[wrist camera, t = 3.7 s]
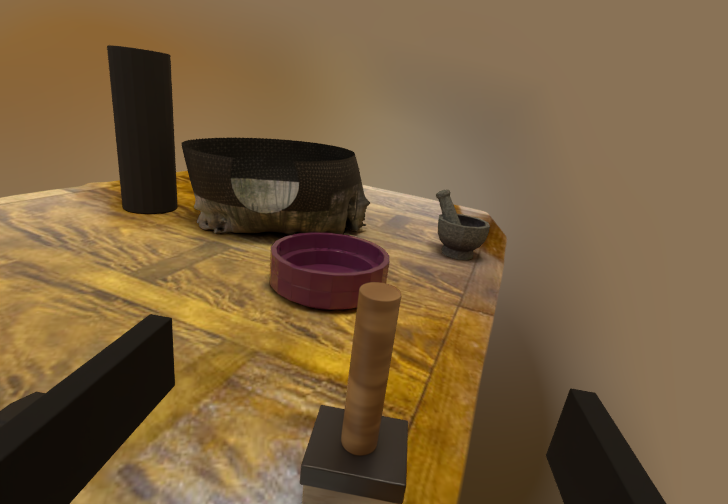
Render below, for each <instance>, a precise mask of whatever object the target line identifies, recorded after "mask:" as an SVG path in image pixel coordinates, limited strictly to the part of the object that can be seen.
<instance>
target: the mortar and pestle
mask: <svg viewBox="0 0 728 504" xmlns="http://www.w3.org/2000/svg"><path fill="white" fill-rule="evenodd" d="M436 197H437V198H438V199H439V202H440V206H441V210H442V215H439V220H438V235H439V238H440V240H441V242H442V243H443V244H444V245H443V247H442V253H443V254H444V255H446V256H447V257H451V258H454V259H460V260H469V259H472V258H473V250H475V249H476V248H478V247H480V246H481V245H482V244H483V243H484V241H485V240H486V237H487V235H488V232H489V228H490V226H489V224H488V222H486V221H483V220H481V219H479V218H475V217H471V216H467V215H461V214H457V213H456V210H455V208H454V205H453V203H452V200H451V198H450V191H449V190H443V191H440V192H438V193H437V194H436Z"/></svg>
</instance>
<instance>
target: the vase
mask: <svg viewBox="0 0 728 504" xmlns="http://www.w3.org/2000/svg"><path fill="white" fill-rule="evenodd" d="M107 50H108V60H109V70H110V81H111V91H112V102H113V111H114V123H115V133H116V143H117V152H118V153H117V154H118V164H119V175H120V185H121V195H122V206H123V209H125V210H126V211H129V212H133V213H141V214H157V213H166V212H170V211H173V210H175V209H176V208H177V186H176V168H175V167H176V166H175V146H174V124H173V103H172V83H171V61H170V55H169V54H165V53H160V52H154V51H149V50H143V49H136V48H128V47H121V46H107Z"/></svg>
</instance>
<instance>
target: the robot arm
mask: <svg viewBox="0 0 728 504" xmlns="http://www.w3.org/2000/svg"><path fill="white" fill-rule="evenodd" d="M174 386H175V375H174V354H173V333H172V318H169V317H163V316H157V315H152V314H150V315H149V316H147V317H146V318H145V319H143V320H142V321H141V322H139V323H138V324H137V325H135V326H134V327H133V328H131V329H130V330H129V331H127V332H126V333H125V334H123V335H122V336H121V337H120V338H118V339H117V340H116V341H114V342H113V343H112V344H110V345H109V346H108V347H106V348H105V349H104V350H102V351H101V352H100V353H98V354H97V355H96V356H94V357H93V358H92V359H90V360H89V361H88V362H86V363H85V364H84V365H82V366H81V367H80V368H78V369H77V370H76V371H74V372H73V373H72V374H70V375H69V376H68V377H67V378H65V379H64V380H63V381H61V382H60V383H59V384H57V385H56V386H55V387H53V388H52V389H51V390H49V391H48V392H47V393H40V392H35V393H33V394H30V395H28V396H26V397H24V398H22V399H19V400H17V401H15V402H13V403H11V404H9V405H8V406H7V407H5V408H4V409H2V410H1V411H0V504H70V503H71V501H72V500H73V499H74V498H75V497H76V496H77V495H78V494H79V492H80V491H81V490H82V489H83V488H84V487H85V486H86V485H87V483H88V482H89V481H90V480H91V479H92V478H93V477H94V476H95V474H96V473H97V472H98V471H99V470H100V469H101V468H102V467H103V465H104V464H105V463H106V462H107V461H108V460H109V459H110V458H111V456H112V455H113V454H114V453H115V452H116V451H117V450H118V449H119V447H120V446H121V445H122V444H123V443H124V442H125V441H126V440H127V438H128V437H129V436H130V435H131V434H132V433H133V432H134V431H135V429H136V428H137V427H138V426H139V425H140V424H141V423H142V422H143V420H144V419H145V418H146V417H147V416H148V415H149V414H150V413H151V411H152V410H153V409H154V408H155V407H156V406H157V405H158V404H159V402H160V401H161V400H162V399H163V398H164V397H165V396H166V395H167V393H168V392H169V391H170V390H171V389H172V388H173V387H174ZM546 456H547V460H548V462H549V465H550V467H551V470H552V473H553V475H554V478H555V481H556V483H557V486H558V489H559V491H560V494H561V497H562V499H563V502H564V504H666V503H665V501H664V499H663V498H662V496H661V495H660V493H659V492H658V490H657V488H656V487H655V485H654V484H653V482H652V481H651V479H650V478H649V476H648V474H647V473H646V471H645V470H644V468H643V467H642V465H641V463H640V462H639V460H638V459H637V458H636V456H635V454H634V452H633V451H632V450H631V448H630V446H629V445H628V443H627V442H626V440H625V438H624V437H623V435H622V434H621V432H620V431H619V429H618V427H617V426H616V424H615V423H614V421H613V420H612V418H611V416H610V415H609V413H608V412H607V410H606V409H605V407H604V406H603V404H602V402H601V401H600V399H599V398H598V396H597V395H596V393H593V392H587V391H582V390H576V389H570V391H569V393H568V396H567V399H566V402H565V405H564V407H563V410H562V413H561V415H560V418H559V421H558V424H557V427H556V429H555V432H554V435H553V438H552V441H551V443H550V446H549V449H548V451H547V454H546Z"/></svg>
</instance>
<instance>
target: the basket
mask: <svg viewBox="0 0 728 504" xmlns="http://www.w3.org/2000/svg"><path fill="white" fill-rule="evenodd" d="M182 149H183V153H184V157H185V161H186V165H187V169H188V173H189V177H190V181H191V184H192V188H193V191H194V194H195V198H196V203H195V205H194V208H195V209H197V210H200V211H201V214H200V215H199V218H198V220H197V223H199V227H200V228H202V229H205V230H208V229H213V230H214V233H222V232H234V233H261V232H281V233H285V234H287V235H293V234H295V232H300V233H312V232H318V233H335V234H343V233H344V230H345V228H346V227H347V228H349V229H350V230H353V231H358V230H359V228H361V227H362V226H366V224H363V222H362V221H363V220H365V218H364V217H365V212H366V209H367V208H366V207H367V206H368V205H369V204H370V202H369V201H368V200H367V199H366V197H365V195H364V191H363V186H362V182H361V177H360V172H359V168H358V164H357V160H356V157H355V153H354V152H352V151H350V150H348V149H345V148H340V147H336V146H330V145H325V144H318V143H310V142H302V141H292V140H279V139H263V138H262V139H261V138H208V139H196V140H188V141H184V142H182ZM221 229H224V231H222V230H221Z"/></svg>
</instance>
